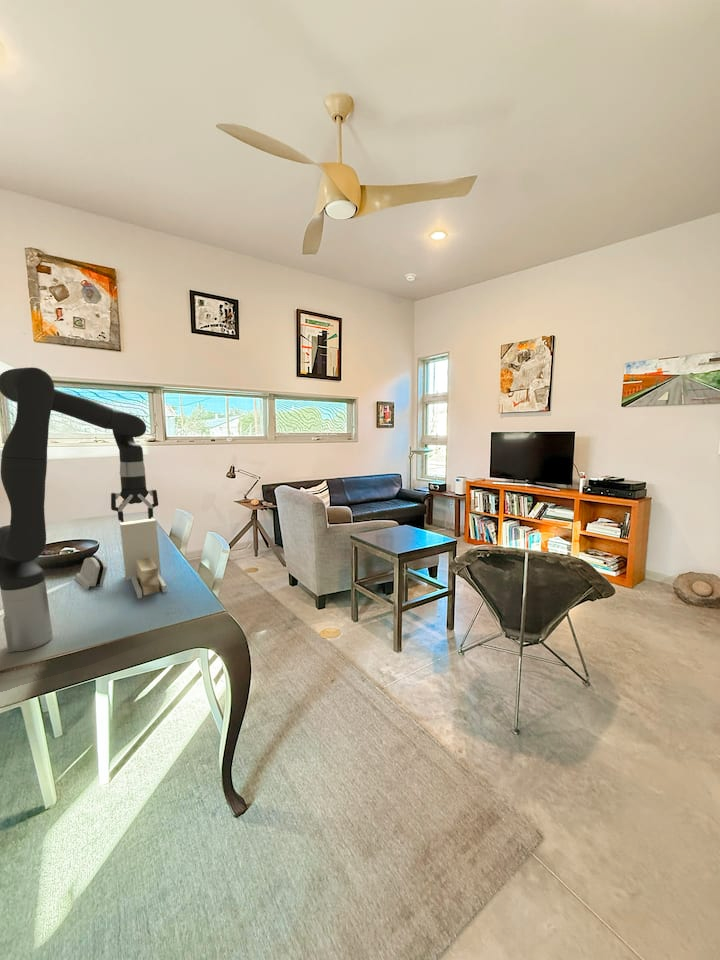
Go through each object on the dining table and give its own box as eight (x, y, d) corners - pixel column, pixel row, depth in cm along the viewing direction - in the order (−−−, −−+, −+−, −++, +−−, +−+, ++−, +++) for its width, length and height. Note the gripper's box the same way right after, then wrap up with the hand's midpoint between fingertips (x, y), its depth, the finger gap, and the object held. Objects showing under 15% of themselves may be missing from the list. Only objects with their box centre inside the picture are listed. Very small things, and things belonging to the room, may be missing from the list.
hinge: (74, 578, 152) (82, 553, 153) (88, 579, 155) (95, 554, 156) (87, 590, 141) (95, 563, 142) (101, 590, 144) (109, 563, 146)
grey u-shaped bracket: (133, 599, 133) (127, 538, 130) (125, 576, 153) (119, 522, 150) (171, 590, 140) (166, 531, 137) (158, 569, 161) (154, 518, 157)
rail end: (143, 595, 136) (141, 571, 135) (138, 582, 148) (136, 559, 147) (159, 591, 139) (157, 568, 138) (152, 579, 151) (150, 557, 149)
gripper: (109, 477, 127) (113, 525, 129) (157, 474, 135) (160, 519, 137) (107, 475, 133) (111, 521, 135) (153, 472, 141) (156, 515, 143)
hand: (136, 520), depth 136 cm, fingers open, 8 cm apart
